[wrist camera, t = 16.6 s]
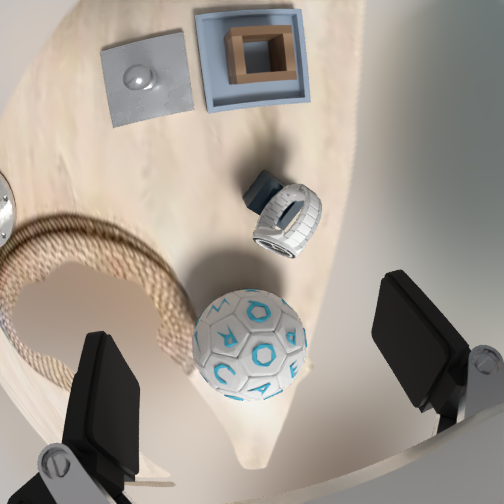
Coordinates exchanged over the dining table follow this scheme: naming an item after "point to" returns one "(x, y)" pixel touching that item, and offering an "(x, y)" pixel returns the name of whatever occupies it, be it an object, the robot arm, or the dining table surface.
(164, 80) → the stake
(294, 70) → the collar
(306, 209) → the watch
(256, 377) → the puzzle ball
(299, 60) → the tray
